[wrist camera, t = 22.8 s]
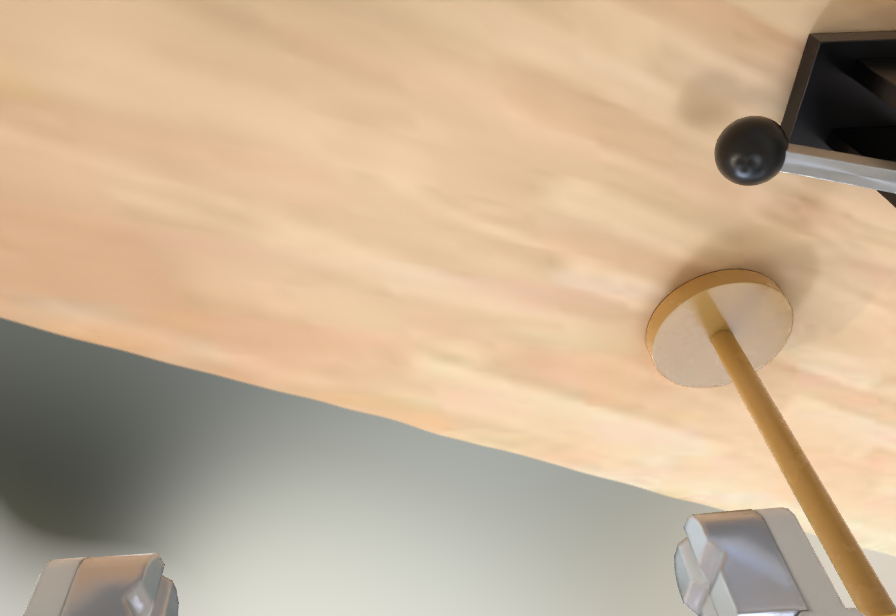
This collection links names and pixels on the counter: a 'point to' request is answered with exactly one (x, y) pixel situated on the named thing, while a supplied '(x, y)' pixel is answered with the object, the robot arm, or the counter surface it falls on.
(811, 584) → the robot arm
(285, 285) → the counter surface
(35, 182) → the counter surface
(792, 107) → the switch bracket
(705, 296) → the desk lamp
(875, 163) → the switch lever
